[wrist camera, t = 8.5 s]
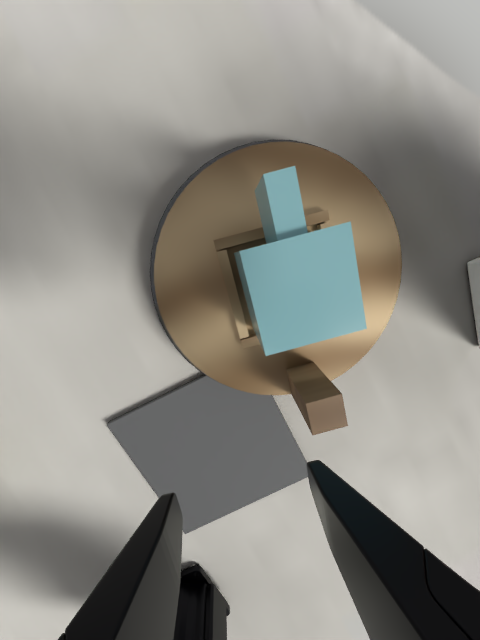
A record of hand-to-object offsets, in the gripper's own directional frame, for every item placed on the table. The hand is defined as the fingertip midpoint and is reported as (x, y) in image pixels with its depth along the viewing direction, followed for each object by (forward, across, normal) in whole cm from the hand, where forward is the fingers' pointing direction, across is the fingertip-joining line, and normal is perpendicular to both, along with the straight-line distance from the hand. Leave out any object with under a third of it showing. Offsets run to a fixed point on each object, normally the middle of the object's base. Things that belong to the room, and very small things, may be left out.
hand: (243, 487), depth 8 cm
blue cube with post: (+10, -4, -6) cm, 13 cm away
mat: (+12, +3, +8) cm, 14 cm away
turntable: (+12, -4, -5) cm, 14 cm away
